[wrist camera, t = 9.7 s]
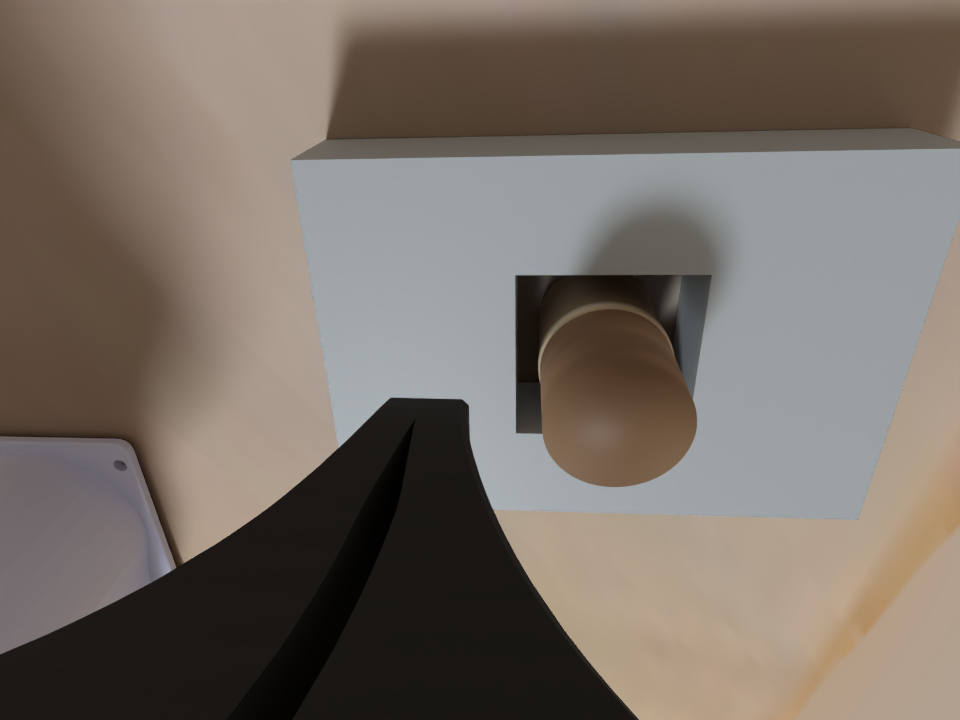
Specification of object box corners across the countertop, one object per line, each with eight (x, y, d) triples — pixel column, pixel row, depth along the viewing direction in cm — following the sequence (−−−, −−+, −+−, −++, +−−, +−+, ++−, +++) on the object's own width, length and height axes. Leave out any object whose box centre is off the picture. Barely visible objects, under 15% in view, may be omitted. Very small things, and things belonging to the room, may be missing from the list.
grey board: (818, 459, 22) (857, 519, 19) (369, 450, 23) (348, 505, 21) (912, 128, 17) (982, 147, 14) (325, 139, 18) (290, 160, 15)
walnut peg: (664, 268, 19) (716, 366, 14) (642, 372, 21) (681, 494, 16) (542, 259, 19) (548, 353, 14) (531, 364, 21) (532, 482, 16)
